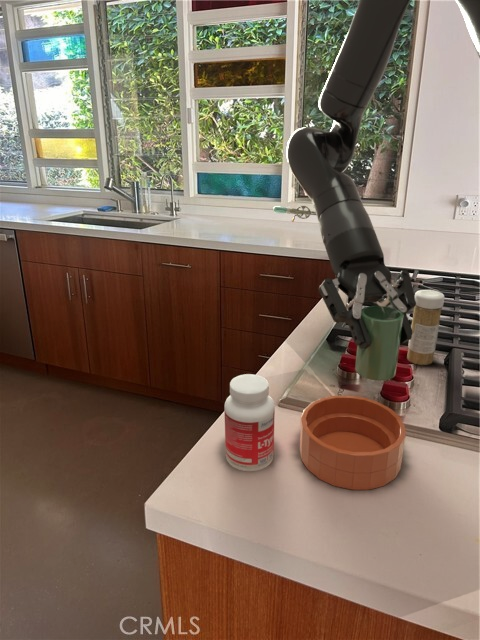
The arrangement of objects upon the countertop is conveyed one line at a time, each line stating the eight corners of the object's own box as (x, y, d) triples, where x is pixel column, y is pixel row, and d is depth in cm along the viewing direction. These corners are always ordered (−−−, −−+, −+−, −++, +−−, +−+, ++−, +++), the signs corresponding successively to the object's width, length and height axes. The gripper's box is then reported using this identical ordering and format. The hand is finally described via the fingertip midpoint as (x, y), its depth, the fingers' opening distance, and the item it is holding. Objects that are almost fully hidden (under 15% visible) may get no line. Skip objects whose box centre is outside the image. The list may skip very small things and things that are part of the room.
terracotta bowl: (365, 422, 66) (369, 388, 64) (421, 480, 55) (428, 442, 53) (285, 439, 63) (286, 404, 61) (327, 504, 52) (330, 465, 50)
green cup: (381, 359, 70) (388, 303, 67) (404, 376, 65) (412, 317, 62) (347, 364, 69) (352, 308, 65) (368, 383, 64) (375, 323, 60)
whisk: (341, 233, 200) (343, 220, 195) (269, 225, 207) (269, 212, 202) (344, 220, 207) (346, 207, 202) (274, 212, 214) (274, 199, 209)
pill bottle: (263, 480, 55) (264, 401, 51) (217, 467, 58) (214, 390, 53) (280, 449, 61) (282, 375, 56) (237, 438, 63) (236, 366, 59)
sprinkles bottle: (409, 357, 84) (419, 287, 79) (435, 363, 82) (447, 291, 77) (401, 367, 81) (411, 294, 76) (428, 374, 78) (441, 299, 73)
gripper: (314, 228, 64) (351, 341, 58) (403, 221, 68) (446, 327, 62) (297, 256, 71) (328, 360, 65) (379, 248, 75) (416, 346, 69)
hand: (386, 343), depth 63 cm, fingers closed on green cup, 5 cm apart
